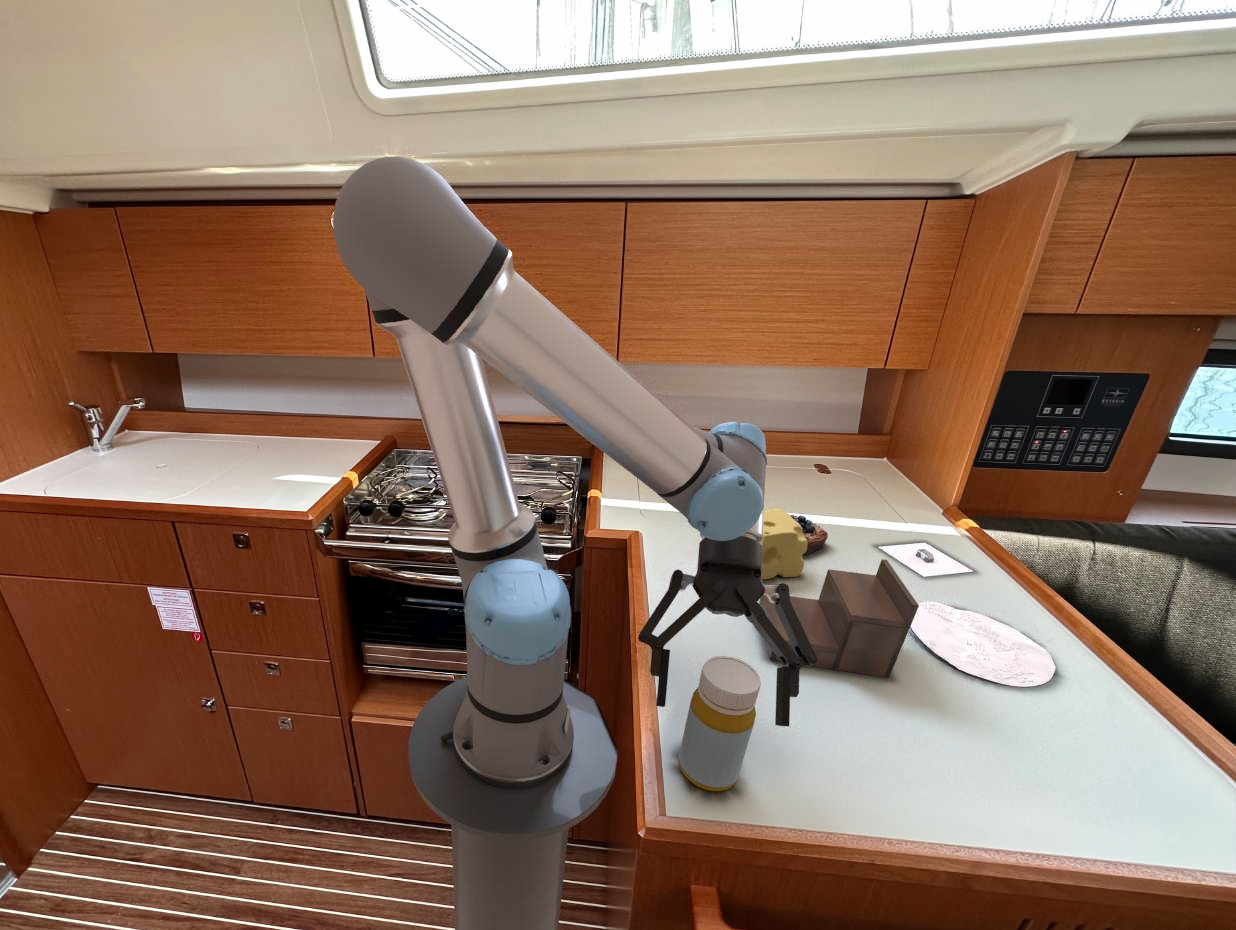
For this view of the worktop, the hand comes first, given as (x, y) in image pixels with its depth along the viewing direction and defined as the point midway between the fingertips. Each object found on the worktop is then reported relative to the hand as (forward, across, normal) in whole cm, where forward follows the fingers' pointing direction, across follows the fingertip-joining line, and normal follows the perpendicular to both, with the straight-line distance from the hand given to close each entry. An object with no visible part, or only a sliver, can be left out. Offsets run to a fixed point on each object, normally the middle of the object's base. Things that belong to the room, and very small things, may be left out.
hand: (720, 716), depth 67 cm
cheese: (-31, -14, -43) cm, 55 cm away
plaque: (-19, -45, -31) cm, 58 cm away
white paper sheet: (-39, -48, -51) cm, 81 cm away
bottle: (+6, 0, -5) cm, 8 cm away
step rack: (-15, -20, -26) cm, 36 cm away
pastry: (-39, -22, -51) cm, 68 cm away
